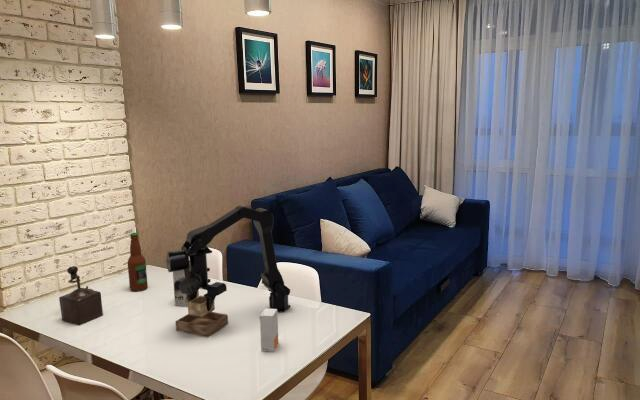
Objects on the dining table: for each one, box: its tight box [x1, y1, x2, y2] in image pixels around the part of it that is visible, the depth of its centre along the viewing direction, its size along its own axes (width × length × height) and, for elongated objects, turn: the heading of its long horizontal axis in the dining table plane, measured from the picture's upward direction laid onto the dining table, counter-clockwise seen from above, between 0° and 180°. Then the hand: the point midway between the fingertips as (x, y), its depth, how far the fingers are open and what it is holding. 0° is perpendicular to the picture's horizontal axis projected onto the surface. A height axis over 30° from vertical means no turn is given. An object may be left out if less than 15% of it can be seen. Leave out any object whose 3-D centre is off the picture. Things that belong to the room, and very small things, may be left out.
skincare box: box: [259, 307, 279, 353], centre depth 153 cm, size 6×4×12 cm
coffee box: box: [172, 260, 200, 307], centre depth 193 cm, size 9×6×16 cm
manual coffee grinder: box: [58, 265, 104, 326], centre depth 181 cm, size 16×11×18 cm
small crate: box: [187, 295, 216, 317], centre depth 169 cm, size 6×7×4 cm
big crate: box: [175, 311, 229, 338], centre depth 170 cm, size 14×12×4 cm
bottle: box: [127, 232, 149, 293], centre depth 208 cm, size 7×7×25 cm
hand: (201, 309), depth 170 cm, fingers closed on small crate, 6 cm apart
